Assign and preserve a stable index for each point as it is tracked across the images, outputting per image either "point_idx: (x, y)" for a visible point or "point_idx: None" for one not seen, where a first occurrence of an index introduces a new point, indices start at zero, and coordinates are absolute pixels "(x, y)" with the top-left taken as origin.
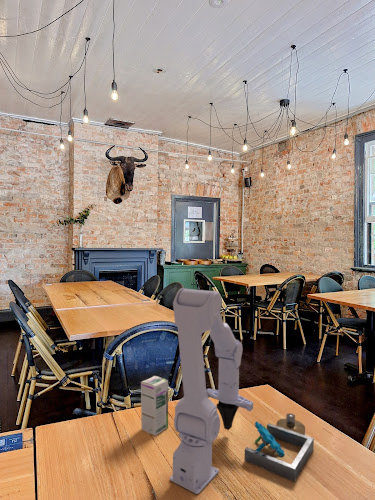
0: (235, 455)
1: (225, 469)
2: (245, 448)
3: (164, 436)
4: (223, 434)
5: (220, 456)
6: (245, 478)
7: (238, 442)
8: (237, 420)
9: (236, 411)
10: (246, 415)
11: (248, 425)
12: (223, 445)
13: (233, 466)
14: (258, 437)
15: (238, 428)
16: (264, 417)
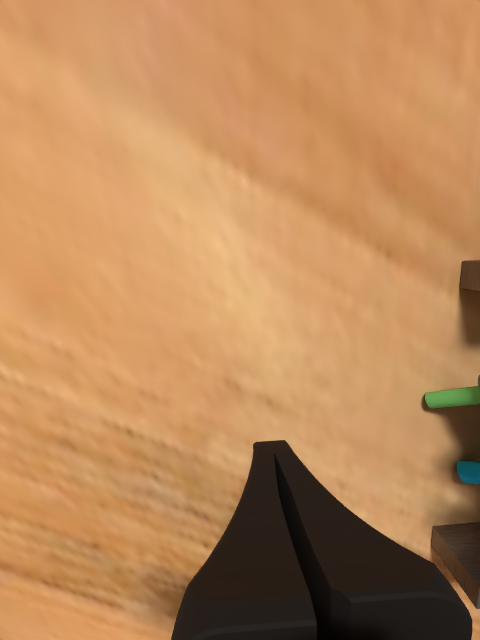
0: None
1: None
2: (477, 601)
3: (20, 627)
4: (240, 440)
5: None
6: (471, 614)
7: (345, 450)
8: (221, 247)
9: (363, 523)
10: (237, 128)
11: (315, 256)
12: None
13: None
14: (463, 402)
15: (278, 332)
16: (369, 56)
